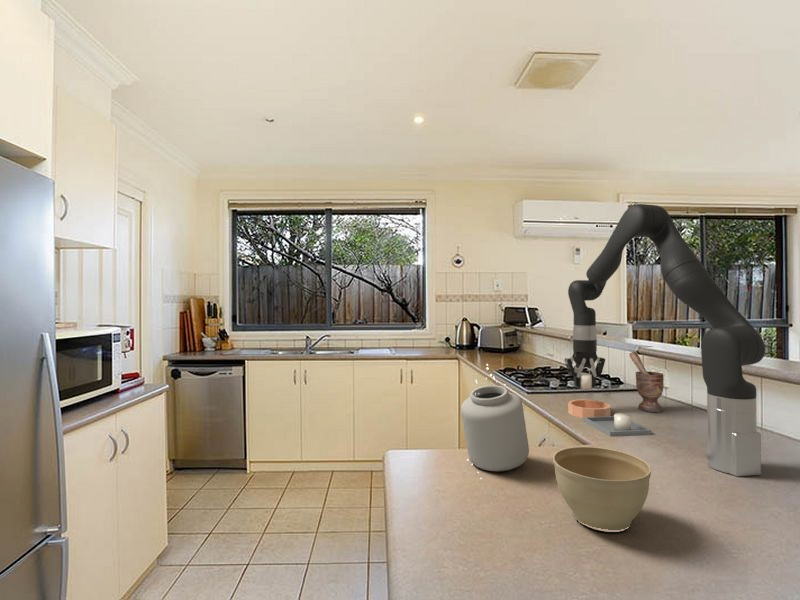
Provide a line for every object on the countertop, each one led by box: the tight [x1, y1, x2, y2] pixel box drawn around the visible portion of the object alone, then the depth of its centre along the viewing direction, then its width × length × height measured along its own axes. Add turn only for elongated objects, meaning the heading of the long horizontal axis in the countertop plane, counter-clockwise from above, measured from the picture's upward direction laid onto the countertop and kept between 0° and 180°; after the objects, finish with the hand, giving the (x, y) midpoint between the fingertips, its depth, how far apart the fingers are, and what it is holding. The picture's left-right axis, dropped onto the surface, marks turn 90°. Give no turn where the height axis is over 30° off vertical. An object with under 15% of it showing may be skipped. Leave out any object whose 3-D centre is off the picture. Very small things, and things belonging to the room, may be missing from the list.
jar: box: [460, 363, 530, 480], centre depth 105 cm, size 19×15×25 cm
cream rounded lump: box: [580, 372, 593, 390], centre depth 149 cm, size 4×4×5 cm
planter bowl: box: [552, 446, 652, 530], centre depth 79 cm, size 16×16×11 cm
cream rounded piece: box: [613, 412, 632, 431], centre depth 128 cm, size 4×4×5 cm
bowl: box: [567, 398, 612, 419], centre depth 147 cm, size 13×13×4 cm
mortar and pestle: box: [628, 351, 664, 413], centre depth 155 cm, size 12×9×20 cm
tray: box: [583, 415, 652, 437], centre depth 131 cm, size 15×12×2 cm
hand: (585, 387), depth 149 cm, fingers closed on cream rounded lump, 4 cm apart
